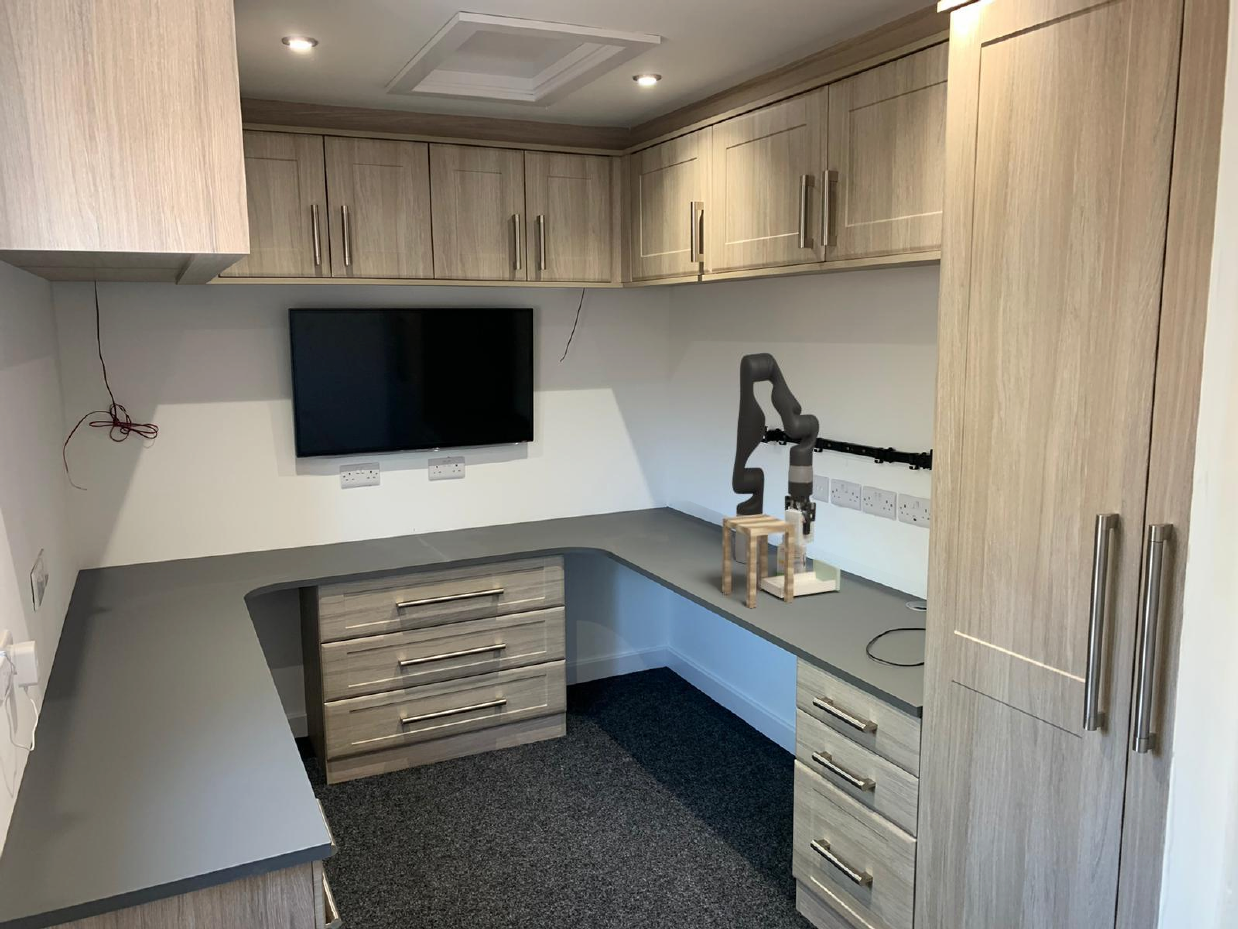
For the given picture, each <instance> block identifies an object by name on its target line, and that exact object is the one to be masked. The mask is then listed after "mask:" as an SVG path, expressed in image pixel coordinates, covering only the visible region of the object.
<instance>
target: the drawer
mask: <svg viewBox="0 0 1238 929" xmlns="http://www.w3.org/2000/svg"><path fill="white" fill-rule="evenodd" d="M761 588H762V589H764V590H765V591H767V592H769V593H770V594H772V595H774V596H776V597H779V598H780V599H784V575H783V576H777V575H776V576H770V577H767V578H761ZM840 590H841V568H840V567H839V566H836V565H833V564H831V563H828V562H826V561H824V560H821V559H819V558H815V557H814V558H812V571H806V573H798V574H794V589H793V597H795V596H802V595H810V594H817V593H823V592H828V591H829V592H830V591H840Z"/></svg>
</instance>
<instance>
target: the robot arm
mask: <svg viewBox="0 0 1238 929" xmlns="http://www.w3.org/2000/svg"><path fill="white" fill-rule="evenodd" d="M767 381H768V382H769V383H771V384H772V389H771V394H770V400H771V404H772V406H773V408H774V409H775V410H776V412H777V413H778V415H779V416H780V420H781V422H782V427H783V430H784V433H785V434H786V436H788V437H789V438H791V439H801V441H800V442H799V443H798V444H796V445H792V446H791V447H790V448H789V462H788V463H789V465H788V471H787V472H788V473H787V474H788V476H787V477H788V481H787V493H788V495H785V496H784V511H785V510H789V509H793V508H794V509H797V510H799V511H800V512H802V516H803V522H804V523H803V534H804V535H808V534H810V523H811V522H814V523H815V521H816V517H817V516H816V515H817V514H816V513H817V503H816V502H811V500H810V497H811V496H812V495H813V494H814V491H813V490H814V467H813V458H814V457H813V456H814V455H813V454H814V448H815V445H816V442H817V438H818V435H819V432H820V422H819V420H818V418H817V417H816V415H814V414H812V413H809V414H802V406H801V404H800V402H799V401H798V400H797V398H796V397H795V395H794V394H793V393H792V392H791V390H790V388H789V386H788V384H787V382H786V380H785V377H784V375H783V373H782V371H781V368H780V367H779V364H778V362H777V360H776V358H775V357H774V355H772V354H771V353H769V352H759V353H751V354H746V355H744V356H742V358H741V360H740V366H739V408H738V409H739V410H738V417H737V428H736V446H735V447H736V448H735V449H736V450H735V457H734V458H735V459H734V463H733V468H732V477H731V486H732V490H733V491H732V492H734V494H737V495H752V496H750V497H749V498H748V499H746V500H744V501H741V502H740V503H737V505H736V513H735V514H736V516H735V517H740V516H750V515H759V514H764V492H765V472H764V470H763V468H761V467H746V465H747V462H748V460H749V458H750V457H751V455H752V453H753V452H754V451H755V450H756V449H757V448H758V447H759V445H760V444H761V442H762V441H763V439H764V436H765V430H766V415H765V412H764V411H763V409H762V407H761V405H759V402H758V401H757V399H756V396H755V393H754V391H755V390H754V386H755V385H754V384H755V383H759V382H767ZM803 511H807V512H803ZM811 514H812V518H811ZM805 516H807V517H805ZM735 531H736V532H735V538H734V539H735V541H734V542H735V544H734V546H735V547H734V556H735V557H734V558H735V561H737V563H743V564H747V535H746V534H744V533H741V532H739V531H737V530H735ZM756 564H759V536H757V563H756Z"/></svg>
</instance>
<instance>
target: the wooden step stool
mask: <svg viewBox="0 0 1238 929" xmlns="http://www.w3.org/2000/svg"><path fill="white" fill-rule="evenodd" d="M732 530H734V531H736V530H737V531H739V532H741V533H744V534H746V535H747V563H746V570H747V571H746V607H747V606H748V607H749V608H748V607H747V608H748V609H750V608H752V609H754V608H753V607H756V608H757V588H758V590H761V591H763V590H762V588H761V578H768V553H769V552H768V551H769V550H768V548H769V547H768V543H769V538H768V537H769V535H775V534H785V572H784V597H783V602H784V603H786V602H787V604H790V603H789V602H792V603H794V596H793V589H794V538H795V525H794V524H791V523H788V522H786V521H785V520H783V519H779V518H777V517H774V516H771V515H768V514H766V513H763V514H759V515H750V516H740V517H736V516H732V517H723V518H722V560H721V562H722V568H721V569H722V570H721V571H722V572H721V573H722V575H721V576H722V577H721V578H722V579H721V580H722V584H721V585H722V586H721V588H722V591H721V592H723V593H724V594H729V595H732V535H733V534H732ZM757 536H759V563H757ZM757 564H758V572H757ZM757 574H758V578H757ZM757 579H758V581H757ZM757 582H758V583H757ZM757 584H758V585H757ZM723 593H722V594H723ZM724 594H723V595H724Z"/></svg>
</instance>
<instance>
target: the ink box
mask: <svg viewBox="0 0 1238 929" xmlns="http://www.w3.org/2000/svg"><path fill="white" fill-rule="evenodd" d="M781 534H782V535H781V537H782V538H781V540H782V541H781V543H779V544H778V545H777V556H776V557H777V559H776V576H783V575H784V572H785V533H781ZM806 566H807V544H803V545H800V546H796V545H794V574H798V573H806V572H807V570H806V569H807V568H806Z"/></svg>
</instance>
